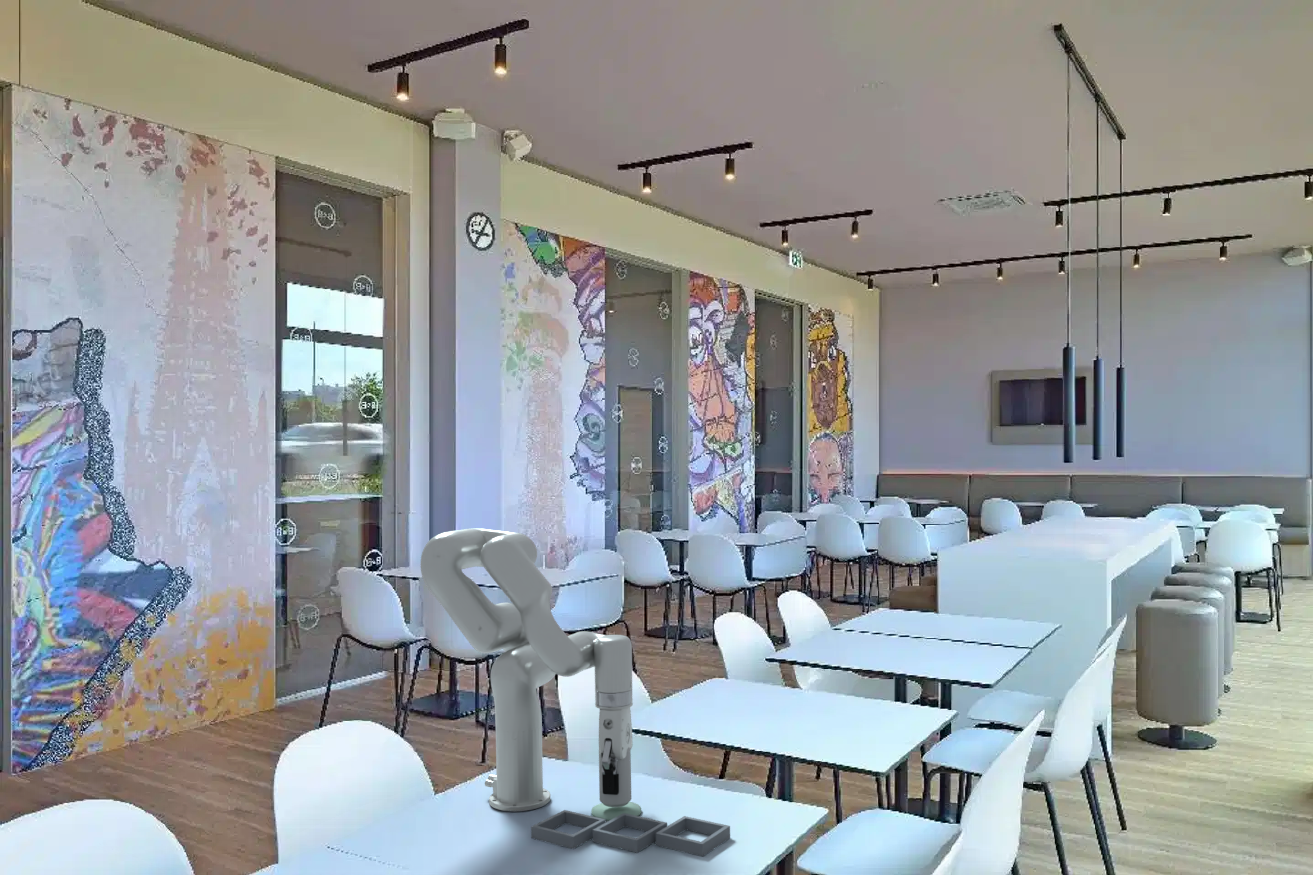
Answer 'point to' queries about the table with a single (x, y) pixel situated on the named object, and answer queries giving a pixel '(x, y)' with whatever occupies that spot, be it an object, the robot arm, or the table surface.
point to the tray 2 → (608, 837)
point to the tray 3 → (672, 841)
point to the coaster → (615, 811)
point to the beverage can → (624, 782)
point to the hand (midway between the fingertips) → (615, 787)
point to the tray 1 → (547, 834)
